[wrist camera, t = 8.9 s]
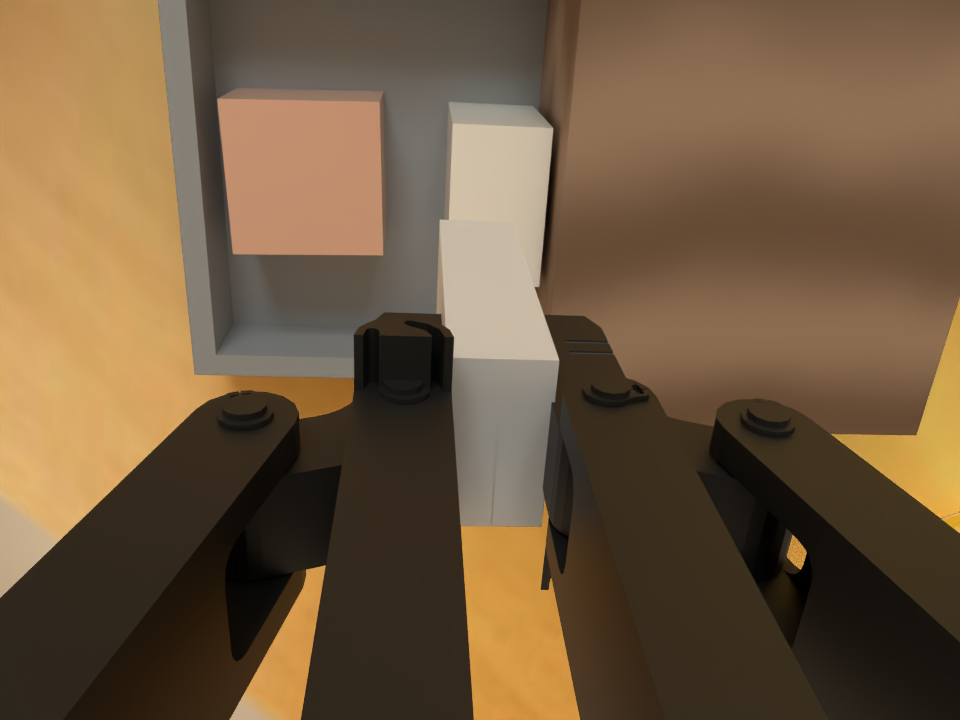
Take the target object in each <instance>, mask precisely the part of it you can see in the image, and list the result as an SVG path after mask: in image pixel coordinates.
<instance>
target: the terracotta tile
mask: <svg viewBox="0 0 960 720" xmlns="http://www.w3.org/2000/svg"><path fill="white" fill-rule="evenodd" d="M217 102H218V112H219V122H220V131H221V141H222V151H223V161H224V171H225V180H226V190H227V200H228V210H229V219H230V229H231V239H232V249H233V254H256V255H383V254H384V247H385V241H386V234H387V212H386V165H385V118H384V91H369V90H319V89H270V88H236V89H234V90H232V91H231V92H229V93H227V94H225V95H223V96H221V97H220V98H218V99H217Z"/></svg>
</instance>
